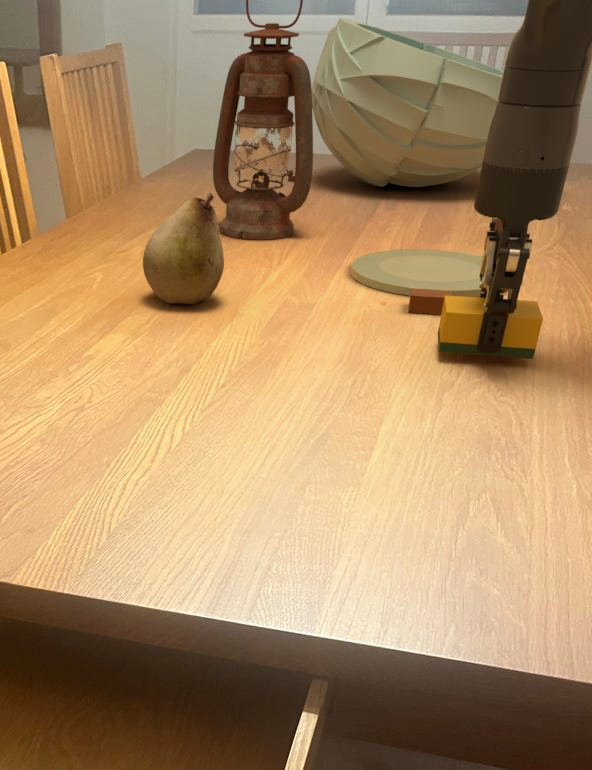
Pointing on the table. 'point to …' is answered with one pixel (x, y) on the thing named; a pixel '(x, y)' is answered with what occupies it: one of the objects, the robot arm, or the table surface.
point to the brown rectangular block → (427, 301)
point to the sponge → (465, 324)
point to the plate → (419, 271)
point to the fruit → (185, 254)
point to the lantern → (265, 110)
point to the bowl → (402, 106)
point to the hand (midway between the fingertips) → (486, 340)
